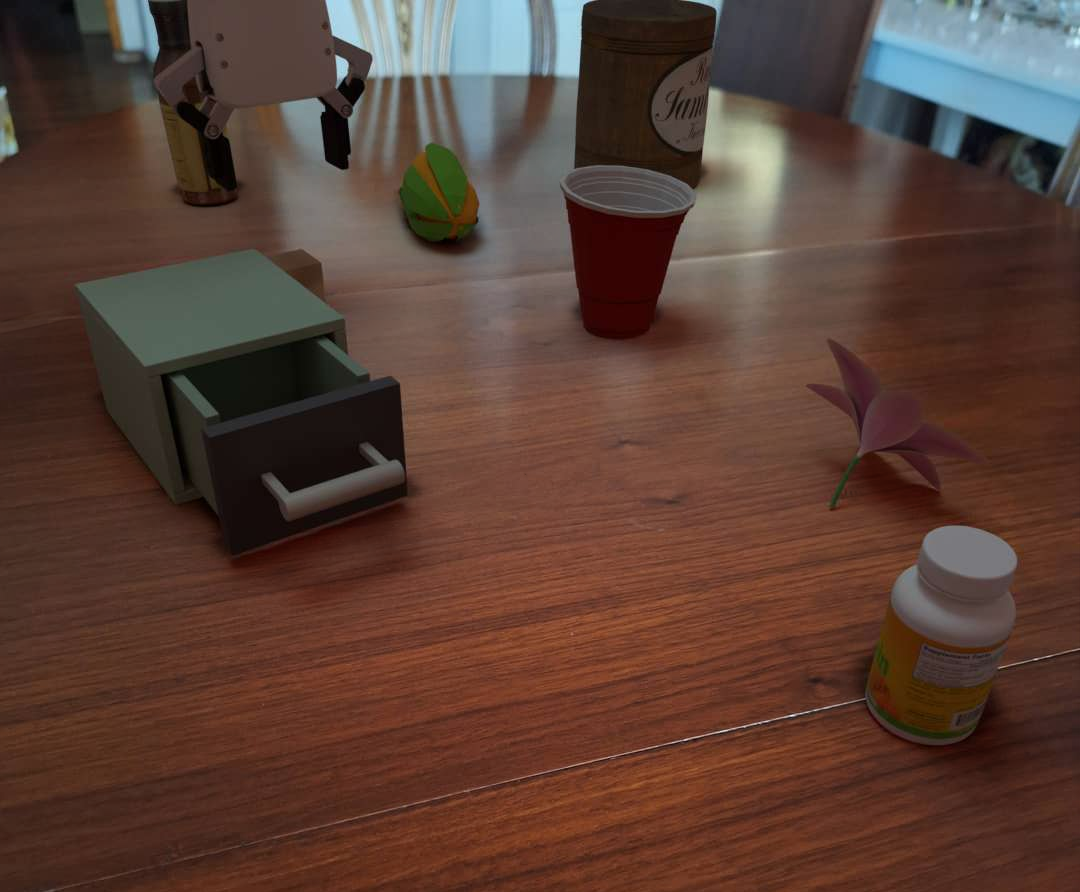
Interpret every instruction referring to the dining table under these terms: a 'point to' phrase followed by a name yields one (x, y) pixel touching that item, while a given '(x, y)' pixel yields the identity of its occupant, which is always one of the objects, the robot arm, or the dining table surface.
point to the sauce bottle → (182, 137)
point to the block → (302, 270)
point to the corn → (439, 195)
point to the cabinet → (189, 338)
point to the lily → (890, 420)
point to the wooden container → (644, 85)
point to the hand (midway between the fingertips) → (283, 175)
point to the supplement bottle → (943, 637)
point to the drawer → (287, 439)
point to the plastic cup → (622, 242)
